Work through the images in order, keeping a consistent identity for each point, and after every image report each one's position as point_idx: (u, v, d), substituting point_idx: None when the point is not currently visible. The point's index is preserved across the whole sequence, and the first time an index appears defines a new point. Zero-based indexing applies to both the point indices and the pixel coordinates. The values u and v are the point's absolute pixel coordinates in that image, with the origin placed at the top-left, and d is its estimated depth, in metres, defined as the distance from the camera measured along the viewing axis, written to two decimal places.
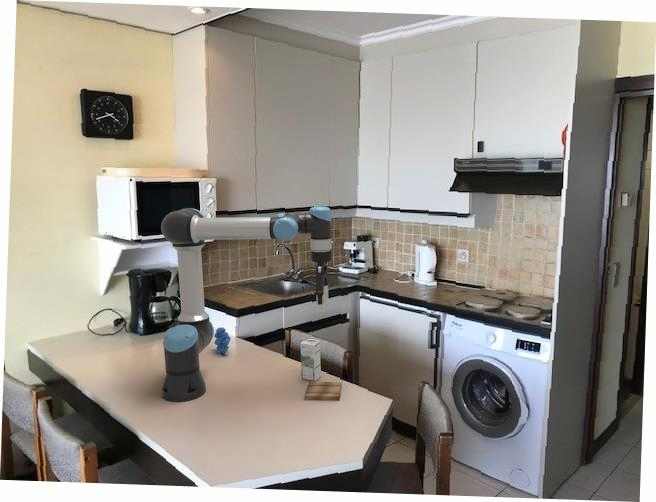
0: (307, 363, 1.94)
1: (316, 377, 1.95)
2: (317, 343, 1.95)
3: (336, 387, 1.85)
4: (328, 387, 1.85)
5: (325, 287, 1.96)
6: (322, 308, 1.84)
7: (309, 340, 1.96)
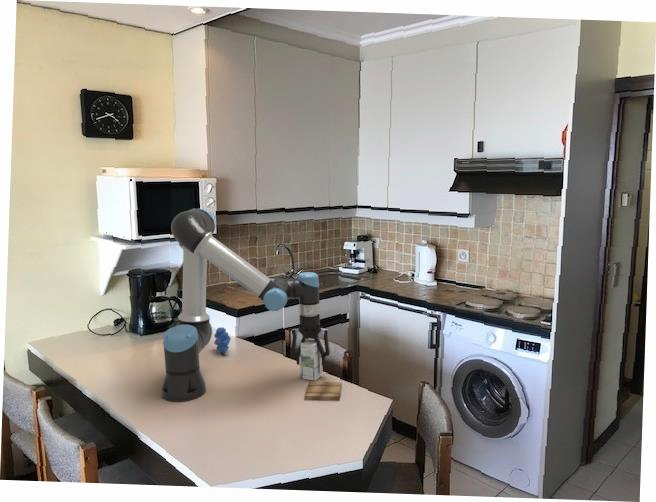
0: (307, 363, 1.94)
1: (316, 377, 1.95)
2: None
3: (336, 387, 1.85)
4: (328, 387, 1.85)
5: None
6: None
7: (309, 340, 1.96)
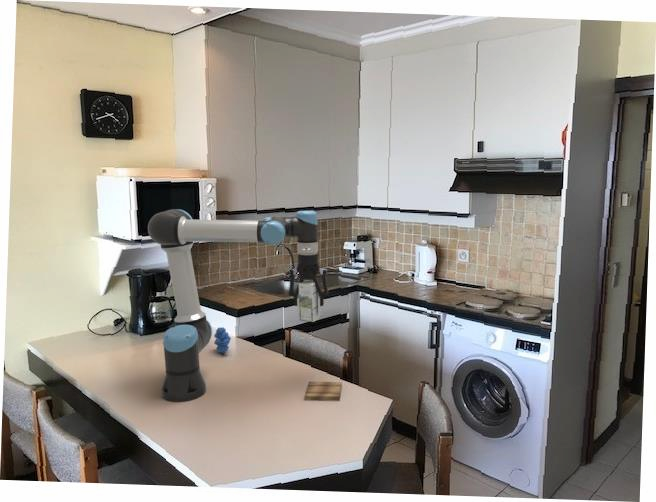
0: (305, 304, 1.91)
1: (314, 318, 1.92)
2: None
3: (336, 387, 1.85)
4: (328, 387, 1.85)
5: (318, 299, 1.92)
6: None
7: (307, 281, 1.93)
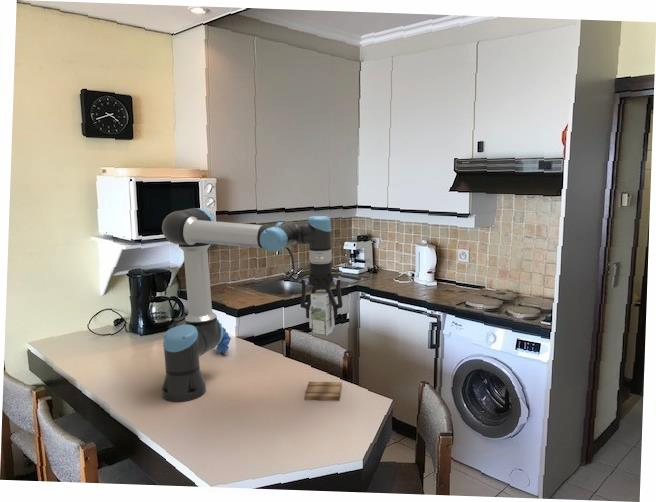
0: (318, 316, 1.77)
1: (328, 331, 1.79)
2: None
3: (336, 387, 1.85)
4: (328, 387, 1.85)
5: None
6: None
7: (320, 291, 1.79)
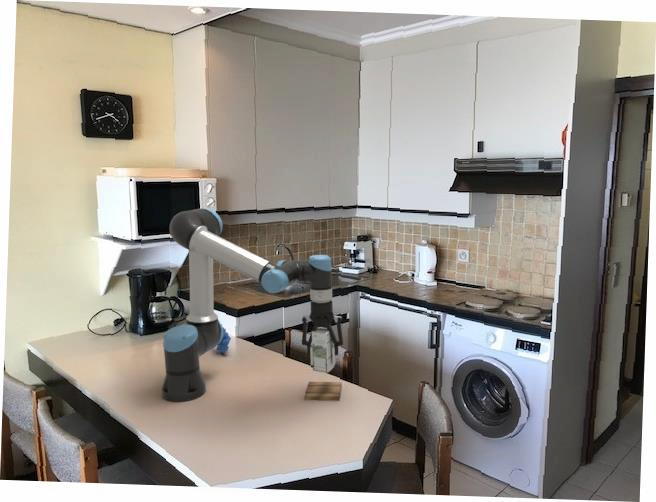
0: (319, 353, 1.80)
1: (329, 368, 1.81)
2: None
3: (336, 387, 1.85)
4: (328, 387, 1.85)
5: None
6: None
7: (321, 328, 1.82)
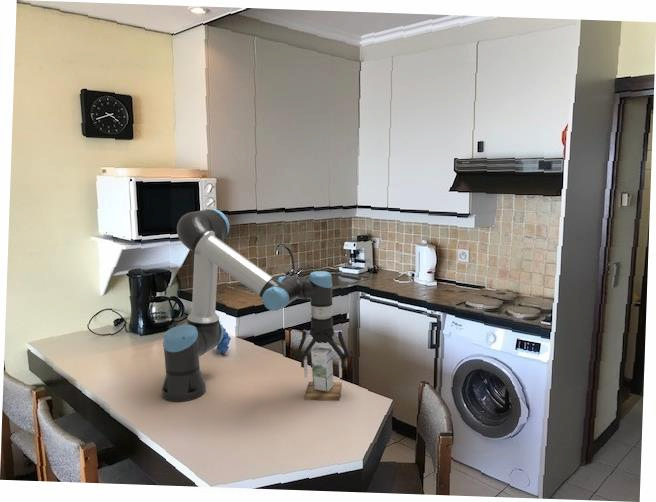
0: (318, 373, 1.81)
1: (329, 387, 1.82)
2: (329, 351, 1.81)
3: (336, 387, 1.85)
4: None
5: (339, 360, 1.82)
6: None
7: (320, 348, 1.83)
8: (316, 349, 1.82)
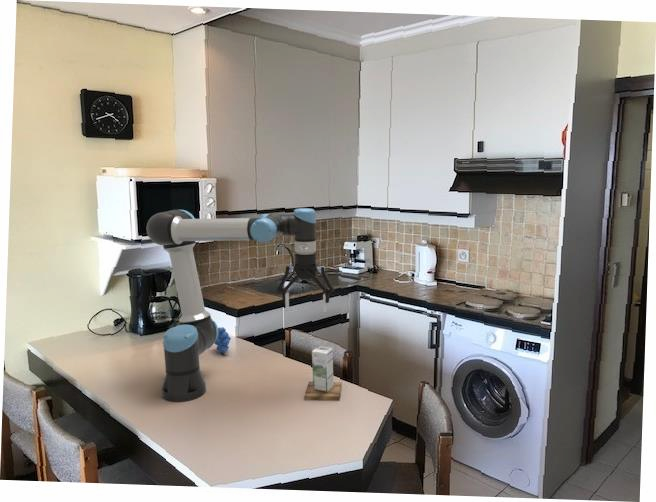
0: (319, 373, 1.81)
1: (329, 387, 1.82)
2: (330, 351, 1.81)
3: (336, 387, 1.85)
4: None
5: (323, 295, 1.85)
6: None
7: (321, 348, 1.83)
8: (317, 349, 1.82)
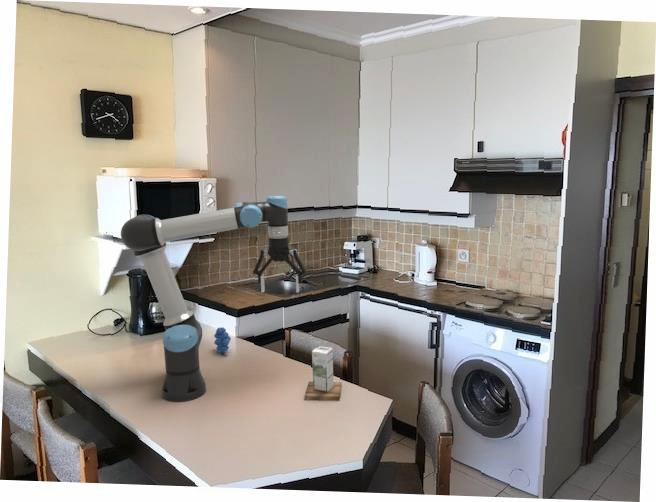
0: (319, 373, 1.81)
1: (329, 387, 1.82)
2: (330, 351, 1.81)
3: (336, 387, 1.85)
4: None
5: (296, 276, 1.99)
6: None
7: (321, 348, 1.83)
8: (317, 349, 1.82)
